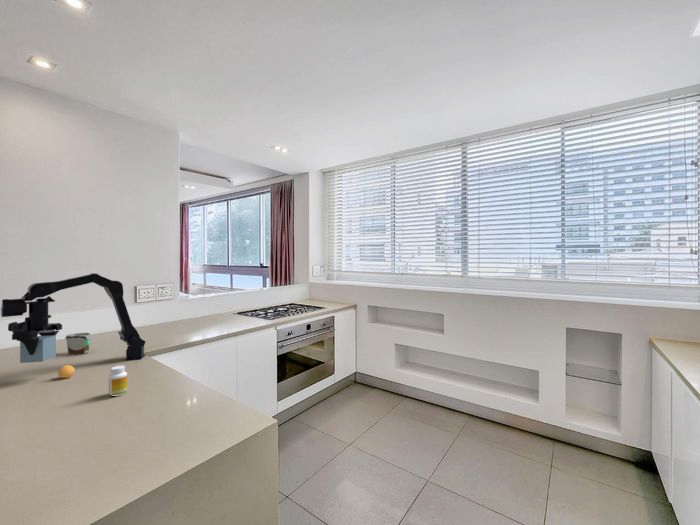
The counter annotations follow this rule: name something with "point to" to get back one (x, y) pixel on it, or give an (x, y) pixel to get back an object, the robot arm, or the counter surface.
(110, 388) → the supplement bottle
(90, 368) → the counter surface
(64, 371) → the ball
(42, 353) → the pale blue-grey cube
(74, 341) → the food container
